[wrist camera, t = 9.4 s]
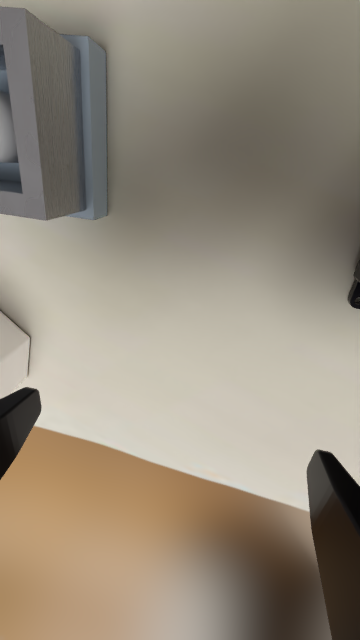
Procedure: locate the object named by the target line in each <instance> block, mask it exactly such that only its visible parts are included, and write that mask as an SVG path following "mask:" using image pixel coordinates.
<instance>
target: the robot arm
mask: <svg viewBox="0 0 360 640" xmlns="http://www.w3.org/2000/svg"><path fill="white" fill-rule="evenodd" d="M354 277H355V278H356V280H355V282H354V285H353V287H352V290H351V292H350V294H349V297H348V302H349V304H350V305H351V306H352V307H354V308H357V309H360V301H359V302H355V299H356V298H358V297H360V260H359V263H358V265H357V268H356V270H355V272H354ZM40 412H41V401H40V395H39V391H38V390H37V389H34V388H29V387H25V388H22V389H20V390H18V391H16V392H14V393H12V394H10V395H8V396H5V397H3V398H1V399H0V480H1V478H2V477H3V475H4V474H5V472H6V471H7V469H8V468H9V467H10V465H11V464H12V462H13V461H14V459H15V458H16V456H17V454H18V452H19V451H20V449H21V447H22V446H23V444H24V442H25V440H26V438H27V437H28V434H29V433H30V431H31V429H32V428H33V426H34V424H35V422H36V420H37V419H38V417H39V415H40ZM307 483H308V495H309V507H310V519H311V529H312V535H313V540H314V546H315V551H316V556H317V562H318V567H319V572H320V578H321V583H322V588H323V594H324V599H325V604H326V610H327V615H328V620H329V625H330V630H331V636H332V640H360V486H359V485H358V484H357V483H356V481H355V480H354V479H353V478H352V477H351V475H350V474H349V473H348V472H347V471H346V469H345V468H344V467H343V466H342V465H341V463H340V462H339V461H338V460H337V459H336V457H335V456H334V455H333V454H332V453H331V452H328V451H323V450H316V451H315V452H314V454H313V456H312V458H311V461H310V463H309V465H308V467H307Z"/></svg>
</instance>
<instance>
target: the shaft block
mask: <svg viewBox="0 0 360 640" xmlns="http://www.w3.org/2000/svg"><path fill="white" fill-rule="evenodd" d="M59 35H60V36H62V37H63V38H64V39H66V40H67V41H68V42H70V43H71V44H72V45H74V46H75V47H76V48H78V49H79V50H80V62H81V87H82V112H83V138H84V163H85V189H86V210H85V211H81V212H77V213H73V214H69V215H66V216H70V217H77V218H83V219H90V220H95V219H98V218H101V217H104V216H107V124H106V52H105V51H104V50H103V49H102V48H101V47H100V46H99V45H97V44H96V43H95V42H94V41H93V40H92V39H91V38H90V37H88V36H76V35H64V34H59ZM0 179H1V180H8V181H16V182H21V177H20V169H19V161H18V154H17V146H16V139H15V131H14V124H13V116H12V108H11V101H10V93H9V86H8V78H7V71H5V70H0Z"/></svg>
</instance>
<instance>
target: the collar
mask: <svg viewBox="0 0 360 640" xmlns="http://www.w3.org/2000/svg"><path fill="white" fill-rule="evenodd" d="M0 70H5V71H7V78H8V86H9V93H10V101H11V108H12V116H13V124H14V131H15V139H16V146H17V154H18V161H19V169H20V177H21V182H16V181H8V180H1V179H0V214H6V215H13V216H20V217H26V218H33V219H39V220H50V219H54V218H58V217H62V216H66V215H69V214H73V213H77V212H81V211H85V210H86V189H85V163H84V138H83V112H82V87H81V62H80V50H79V49H78V48H76V47H75V46H74V45H72V44H71V43H70V42H68V41H67V40H66V39H64V38H63V37H62V36H60V35H59V34H58V33H56V32H55V31H54V30H53V29H51V28H50V27H49V26H47V25H46V24H45V23H43V22H42V21H41V20H39V19H38V18H37V17H35V16H34V15H33V14H31V13H30V12H29V11H27V10H26V9H25V8H11V7H0Z"/></svg>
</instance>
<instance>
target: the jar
mask: <svg viewBox="0 0 360 640" xmlns="http://www.w3.org/2000/svg"><path fill="white" fill-rule="evenodd" d="M29 346H30V337H29V336H28V335H27V334H25V333H24V332H23V331H22V330H21V329H20V328H19V327H18V326H17V325H15V324H14V323H13V322H12V321H11V320H10V319H9V318H8V317H7V316H5V315H4V314H3V313H2V312H1V311H0V399H1V398H3V397H5V396H8V395H10V394H11V393H12V392H13V391H14V390H15V389H16V388H17V387H18V386H19V385H20V384H21V383H22V382H23V381H24V380H25V379H26V378H27V373H28V359H29Z"/></svg>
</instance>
